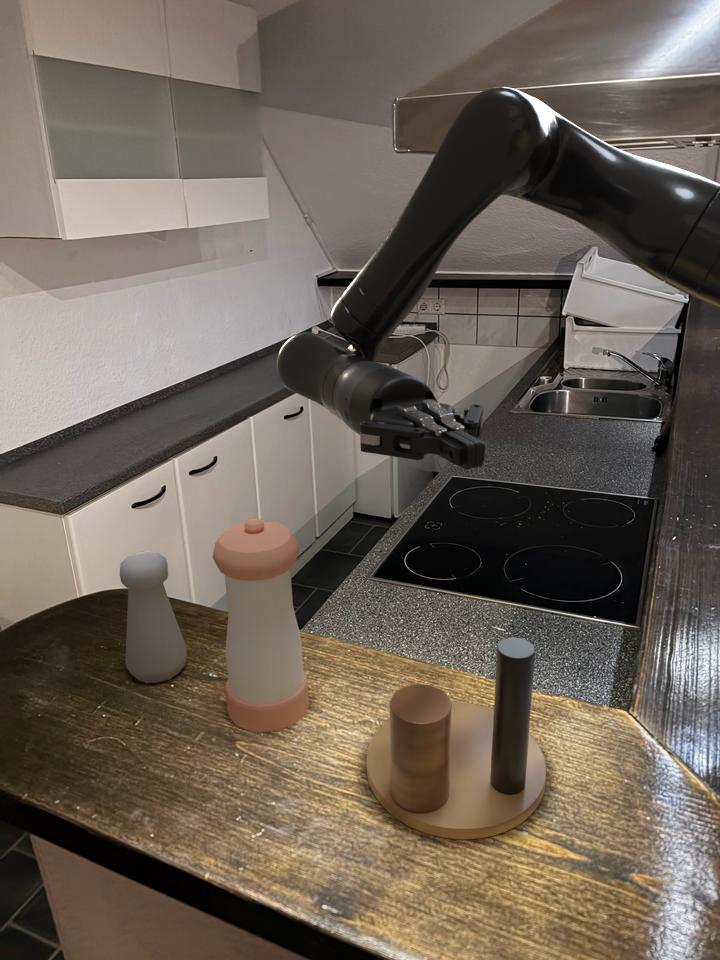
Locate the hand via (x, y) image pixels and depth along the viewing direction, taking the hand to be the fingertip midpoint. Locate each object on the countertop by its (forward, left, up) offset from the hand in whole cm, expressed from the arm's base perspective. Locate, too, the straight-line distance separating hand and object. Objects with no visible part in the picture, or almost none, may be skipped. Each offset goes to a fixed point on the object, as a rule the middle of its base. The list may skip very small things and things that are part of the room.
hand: (475, 456), depth 61 cm
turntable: (+6, +8, -23) cm, 25 cm away
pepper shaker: (+17, -6, -24) cm, 30 cm away
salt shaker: (+25, -16, -24) cm, 38 cm away
